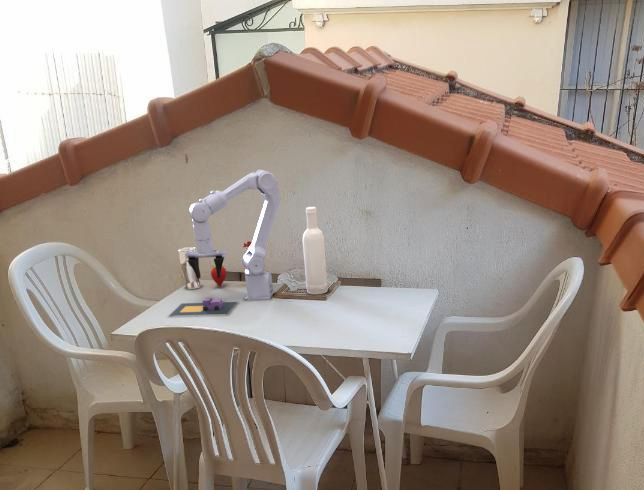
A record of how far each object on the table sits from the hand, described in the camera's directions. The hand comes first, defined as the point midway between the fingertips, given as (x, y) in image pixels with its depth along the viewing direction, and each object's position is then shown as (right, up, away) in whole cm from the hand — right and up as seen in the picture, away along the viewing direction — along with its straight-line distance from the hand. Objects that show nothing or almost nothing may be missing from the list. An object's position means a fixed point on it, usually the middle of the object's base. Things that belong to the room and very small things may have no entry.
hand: (209, 277), depth 248 cm
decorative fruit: (0, +7, +22) cm, 24 cm away
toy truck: (+2, -11, -1) cm, 11 cm away
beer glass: (-11, +3, +28) cm, 30 cm away
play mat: (-2, -12, -1) cm, 12 cm away
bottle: (+39, -3, +9) cm, 40 cm away
